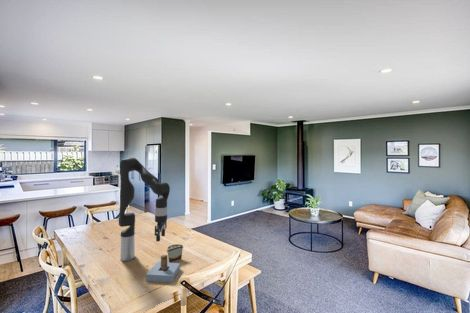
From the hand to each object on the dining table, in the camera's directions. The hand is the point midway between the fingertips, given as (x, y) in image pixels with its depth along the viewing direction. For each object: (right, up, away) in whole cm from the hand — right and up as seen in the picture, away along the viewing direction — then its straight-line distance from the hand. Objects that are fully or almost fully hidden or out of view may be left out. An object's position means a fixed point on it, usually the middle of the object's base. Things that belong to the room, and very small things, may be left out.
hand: (160, 238), depth 150 cm
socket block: (+3, -23, -2) cm, 23 cm away
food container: (+3, -23, +20) cm, 30 cm away
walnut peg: (+3, -23, -1) cm, 23 cm away
